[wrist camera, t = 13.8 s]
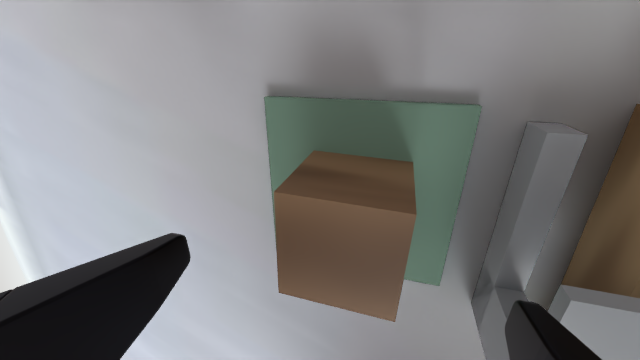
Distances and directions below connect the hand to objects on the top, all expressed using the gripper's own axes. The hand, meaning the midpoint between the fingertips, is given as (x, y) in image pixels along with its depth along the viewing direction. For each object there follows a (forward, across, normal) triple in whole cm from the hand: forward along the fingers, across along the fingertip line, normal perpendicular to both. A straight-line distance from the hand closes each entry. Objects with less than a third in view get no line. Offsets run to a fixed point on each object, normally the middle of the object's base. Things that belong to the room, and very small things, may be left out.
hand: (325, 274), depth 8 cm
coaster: (+5, 0, 0) cm, 5 cm away
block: (+5, 0, 0) cm, 5 cm away
